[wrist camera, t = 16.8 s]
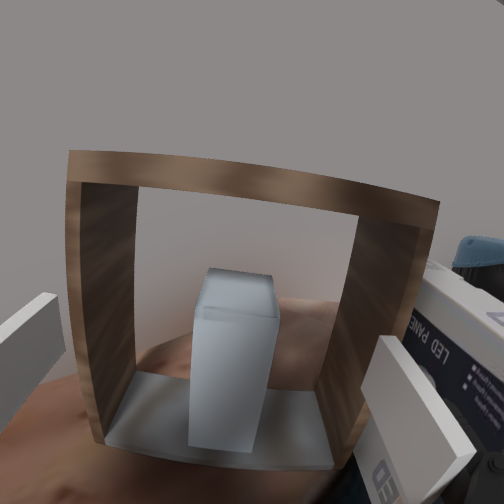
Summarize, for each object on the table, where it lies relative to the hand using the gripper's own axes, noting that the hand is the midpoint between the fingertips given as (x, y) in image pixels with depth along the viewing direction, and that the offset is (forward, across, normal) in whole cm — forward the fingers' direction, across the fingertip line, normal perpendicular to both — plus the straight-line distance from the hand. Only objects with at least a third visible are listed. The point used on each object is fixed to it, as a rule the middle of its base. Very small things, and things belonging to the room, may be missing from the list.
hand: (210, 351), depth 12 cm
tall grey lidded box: (+14, +1, -18) cm, 23 cm away
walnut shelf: (+14, +1, -19) cm, 24 cm away
